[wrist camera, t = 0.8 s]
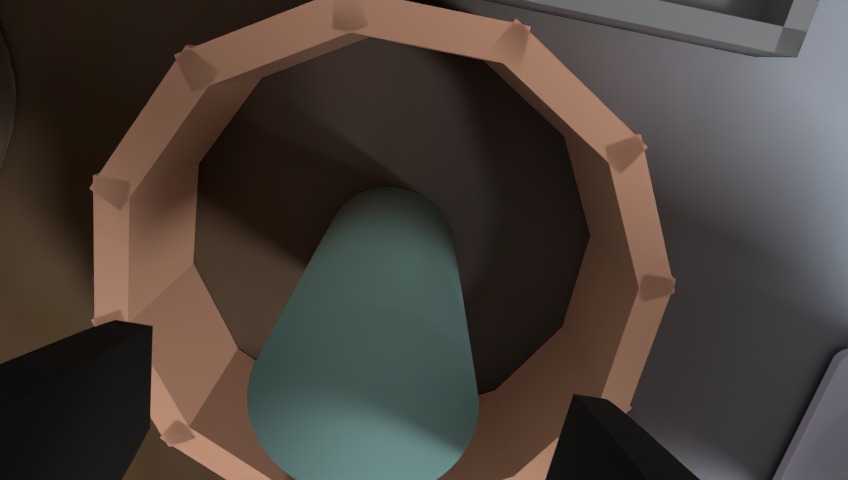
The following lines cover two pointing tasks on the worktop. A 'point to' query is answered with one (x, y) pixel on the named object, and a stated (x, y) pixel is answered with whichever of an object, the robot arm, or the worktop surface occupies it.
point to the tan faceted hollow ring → (230, 367)
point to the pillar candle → (6, 99)
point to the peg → (370, 351)
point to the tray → (697, 21)
